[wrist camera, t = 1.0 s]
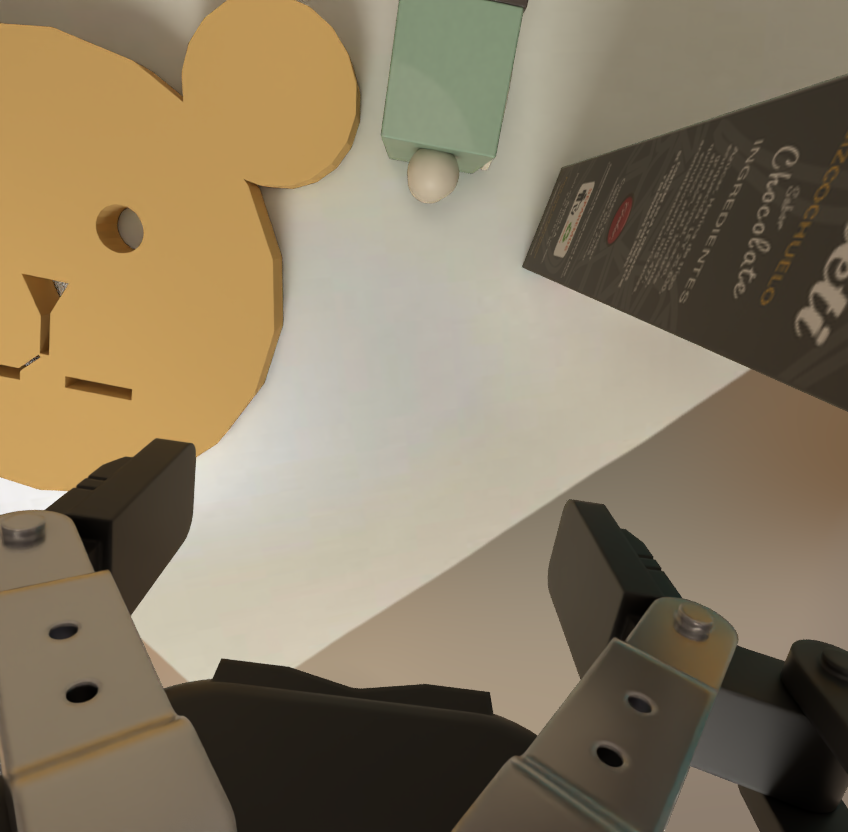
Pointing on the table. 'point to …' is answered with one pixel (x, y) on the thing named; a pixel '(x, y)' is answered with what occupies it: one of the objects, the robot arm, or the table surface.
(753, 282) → the cake mix box
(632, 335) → the table surface
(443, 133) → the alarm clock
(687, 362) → the table surface
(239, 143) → the decorative plaque
